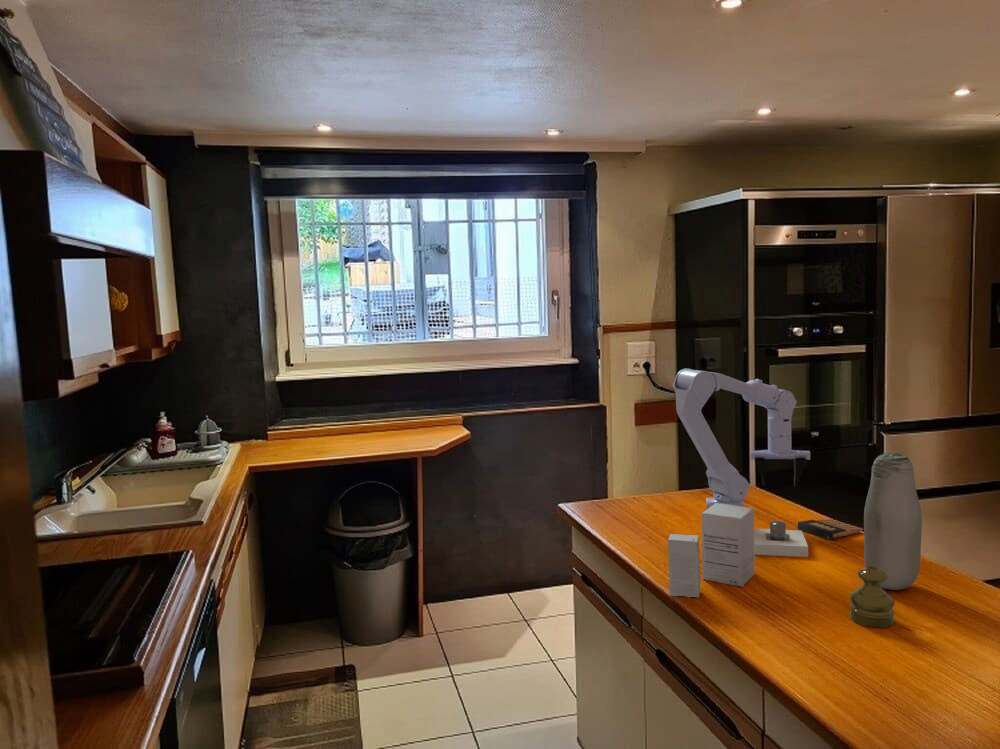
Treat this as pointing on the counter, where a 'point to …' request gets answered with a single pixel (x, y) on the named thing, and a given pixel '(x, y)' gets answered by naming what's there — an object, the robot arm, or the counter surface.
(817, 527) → the ammunition clip
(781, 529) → the metal peg
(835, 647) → the counter surface
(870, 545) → the grey bottle
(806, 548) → the socket block
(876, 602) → the olive green knobbed piece
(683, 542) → the skincare box
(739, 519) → the supplement box
